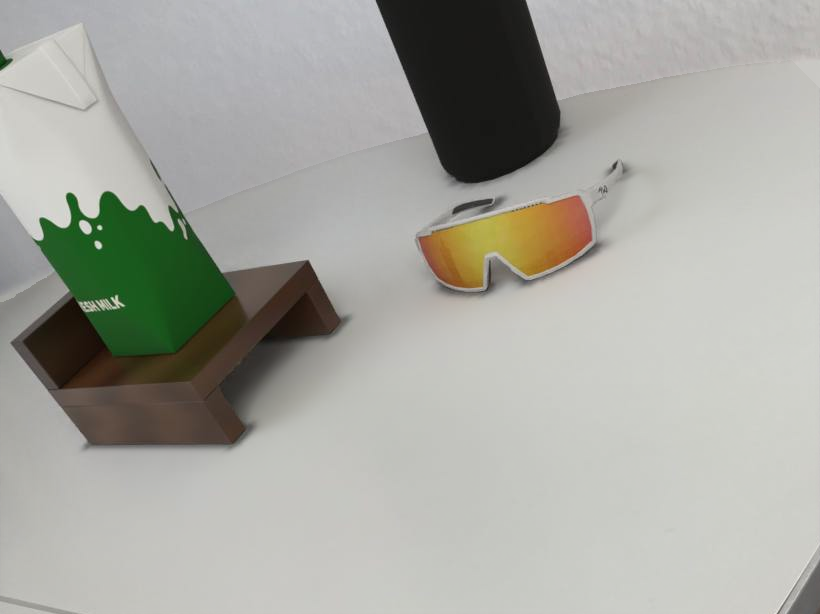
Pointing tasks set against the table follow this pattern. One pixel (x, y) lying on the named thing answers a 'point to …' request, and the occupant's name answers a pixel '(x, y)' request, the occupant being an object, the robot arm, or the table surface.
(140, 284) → the milk carton
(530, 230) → the sunglasses
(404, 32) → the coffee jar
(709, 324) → the table surface
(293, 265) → the stand
